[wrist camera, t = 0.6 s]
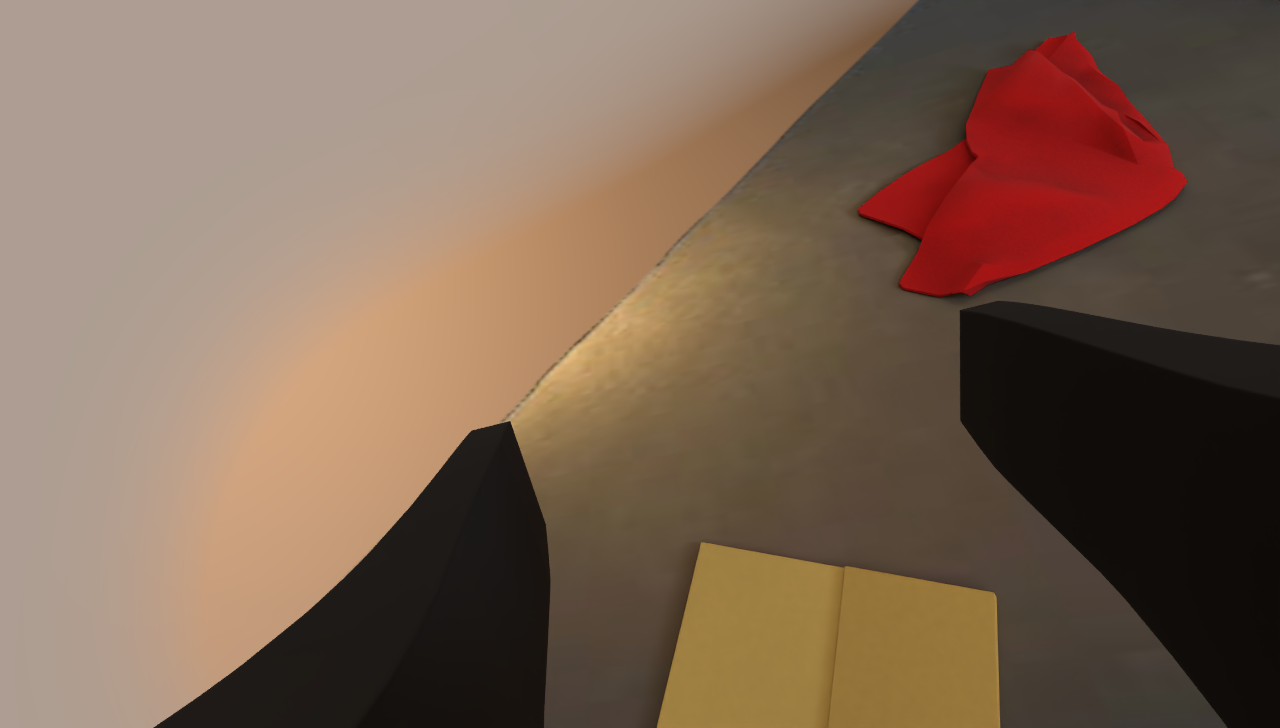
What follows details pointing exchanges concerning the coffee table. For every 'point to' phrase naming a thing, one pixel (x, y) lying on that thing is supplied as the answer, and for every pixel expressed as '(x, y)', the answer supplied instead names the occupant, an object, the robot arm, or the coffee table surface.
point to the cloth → (1029, 175)
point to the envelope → (829, 648)
